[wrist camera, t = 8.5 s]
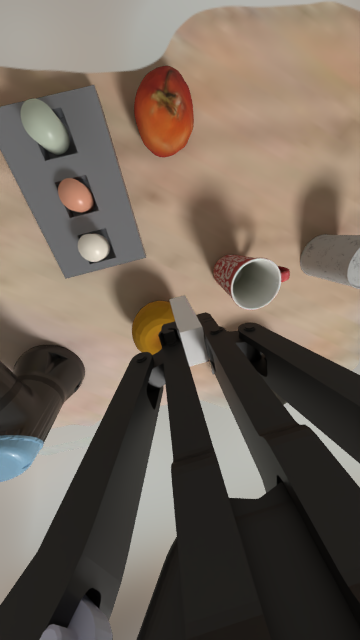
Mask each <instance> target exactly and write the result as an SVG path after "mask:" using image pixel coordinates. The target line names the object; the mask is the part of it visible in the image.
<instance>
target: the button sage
mask: <svg viewBox="0 0 360 640" xmlns="http://www.w3.org/2000/svg"><path fill="white" fill-rule="evenodd" d="M21 121H22V124H23V126H24V128H25V130H26V132H27V133H28V134H29V135H30V136H31V137H32V138H33V139H34V140H35V141H36V142H38V143H39V144H40V145H41V146H43V147H44V148H45V149H46V150H48V151H49V152H51V153H53V154H57V155H60V154H63V153H65V152H66V151H67V150H68V148H69V144H70V138H69V134H68V131H67V129H66V127H65V126H64V124H63V123H62V122H61V121H60V119H59V118H58V117H57V116H56V114H55V113H54V112H53V111H52V110H51V108H50V107H49V106H48V105H47V104H46V103H44V102H43V101H41V100H38V99H28V100H27V101H25V102H24V103H23V105H22V107H21Z"/></svg>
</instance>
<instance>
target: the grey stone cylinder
mask: <svg viewBox="0 0 360 640" xmlns="http://www.w3.org/2000/svg"><path fill="white" fill-rule="evenodd" d="M300 266H301V269H302V271H303V272H304V273H305V274H307V275H309V276H314V277H318V278H322V279H326V280H329V281H333V282H337V283H340V284H344V285H348V286H352V287H354V288H357V289H360V235H326V234H325V235H320V236H317V237H315V238H314V239H312V240H311V241H310V242H309V243H308V244H307V245H306V247H305V248H304V250H303V252H302V255H301V259H300Z"/></svg>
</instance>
